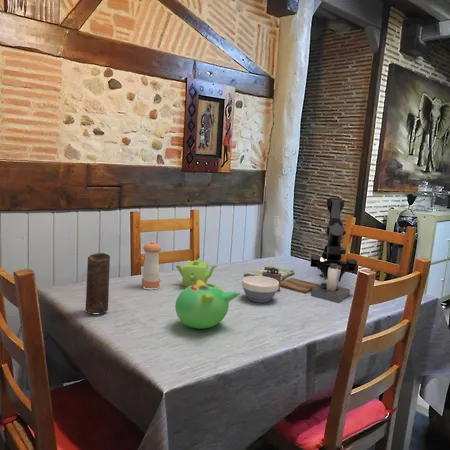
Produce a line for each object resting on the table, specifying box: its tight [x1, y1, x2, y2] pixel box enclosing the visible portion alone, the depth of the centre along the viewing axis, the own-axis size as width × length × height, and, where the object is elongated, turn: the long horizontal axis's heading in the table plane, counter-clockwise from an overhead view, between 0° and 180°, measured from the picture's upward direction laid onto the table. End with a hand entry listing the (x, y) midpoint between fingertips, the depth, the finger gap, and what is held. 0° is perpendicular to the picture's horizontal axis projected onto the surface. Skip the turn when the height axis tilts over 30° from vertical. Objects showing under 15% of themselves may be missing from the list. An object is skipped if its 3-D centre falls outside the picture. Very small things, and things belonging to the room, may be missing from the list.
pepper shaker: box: [141, 240, 162, 288], centre depth 178 cm, size 7×7×19 cm
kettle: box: [175, 257, 219, 289], centre depth 184 cm, size 15×14×11 cm
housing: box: [310, 282, 351, 304], centre depth 183 cm, size 12×12×3 cm
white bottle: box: [326, 263, 339, 292], centre depth 182 cm, size 4×4×14 cm
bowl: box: [241, 276, 279, 304], centre depth 172 cm, size 14×14×8 cm
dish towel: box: [243, 265, 295, 282], centre depth 208 cm, size 17×23×4 cm
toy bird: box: [174, 280, 241, 330], centre depth 141 cm, size 18×17×15 cm
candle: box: [85, 252, 111, 314], centre depth 147 cm, size 8×7×20 cm
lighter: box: [262, 266, 281, 293], centre depth 185 cm, size 8×3×10 cm, turn 84°
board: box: [280, 277, 320, 294], centre depth 194 cm, size 14×14×1 cm
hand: (332, 280), depth 180 cm, fingers open, 5 cm apart
